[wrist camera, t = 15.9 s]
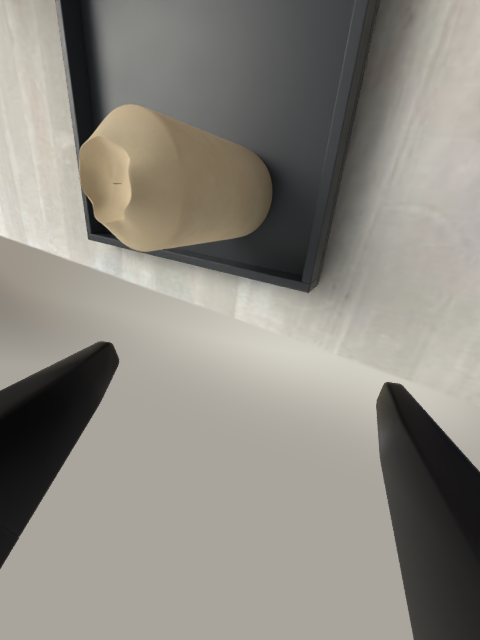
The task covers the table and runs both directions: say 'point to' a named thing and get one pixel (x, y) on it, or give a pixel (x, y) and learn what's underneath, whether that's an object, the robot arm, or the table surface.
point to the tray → (233, 104)
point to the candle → (170, 182)
